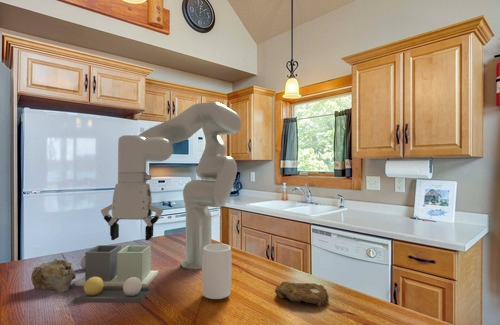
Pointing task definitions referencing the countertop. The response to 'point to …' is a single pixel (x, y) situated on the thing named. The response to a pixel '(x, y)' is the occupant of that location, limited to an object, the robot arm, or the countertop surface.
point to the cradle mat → (113, 295)
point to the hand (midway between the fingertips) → (131, 239)
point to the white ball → (132, 286)
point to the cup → (216, 271)
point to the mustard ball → (93, 286)
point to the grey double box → (118, 264)
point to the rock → (53, 275)
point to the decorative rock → (303, 292)
